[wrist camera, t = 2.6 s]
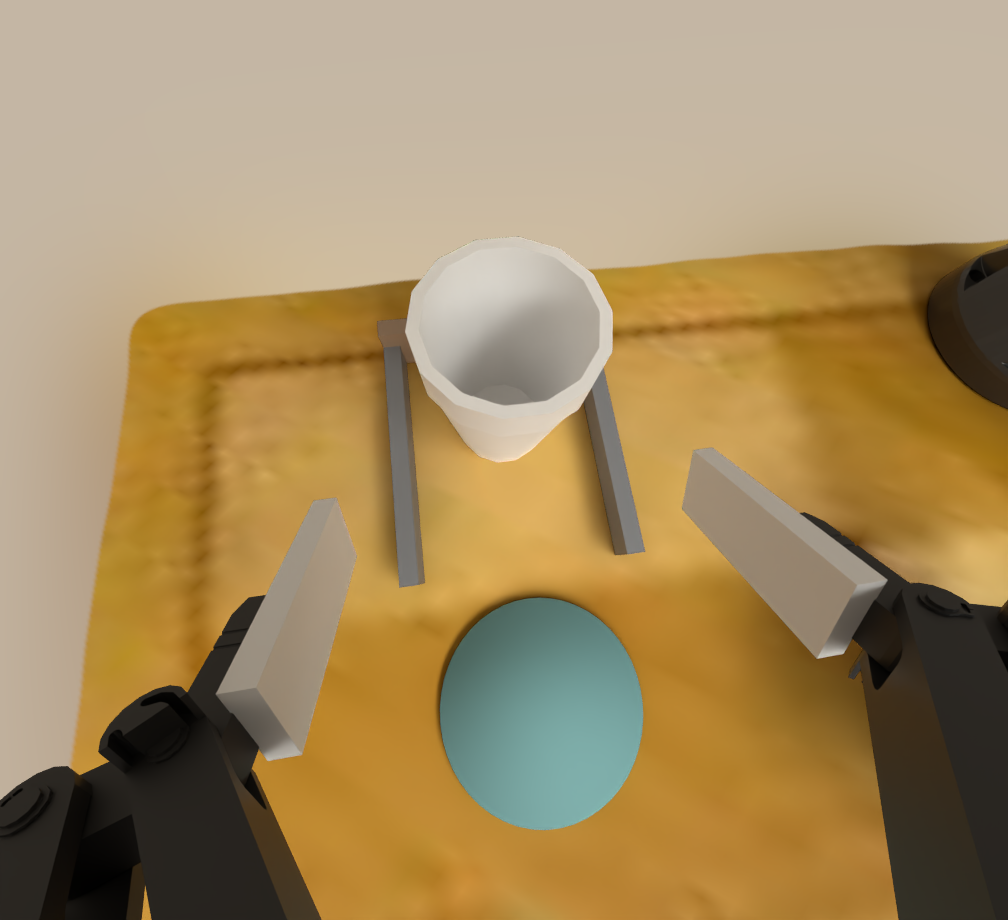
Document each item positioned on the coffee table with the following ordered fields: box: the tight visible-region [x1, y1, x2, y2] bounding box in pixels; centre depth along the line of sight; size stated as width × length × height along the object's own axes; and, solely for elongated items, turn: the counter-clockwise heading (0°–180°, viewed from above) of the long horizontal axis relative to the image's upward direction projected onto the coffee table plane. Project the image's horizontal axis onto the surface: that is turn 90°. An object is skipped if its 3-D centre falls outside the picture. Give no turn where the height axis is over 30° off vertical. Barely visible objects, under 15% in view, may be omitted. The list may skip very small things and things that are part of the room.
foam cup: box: [405, 236, 613, 462], centre depth 24 cm, size 10×9×13 cm
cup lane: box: [377, 318, 645, 588], centre depth 27 cm, size 16×18×4 cm
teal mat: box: [440, 598, 643, 830], centre depth 25 cm, size 13×13×1 cm
